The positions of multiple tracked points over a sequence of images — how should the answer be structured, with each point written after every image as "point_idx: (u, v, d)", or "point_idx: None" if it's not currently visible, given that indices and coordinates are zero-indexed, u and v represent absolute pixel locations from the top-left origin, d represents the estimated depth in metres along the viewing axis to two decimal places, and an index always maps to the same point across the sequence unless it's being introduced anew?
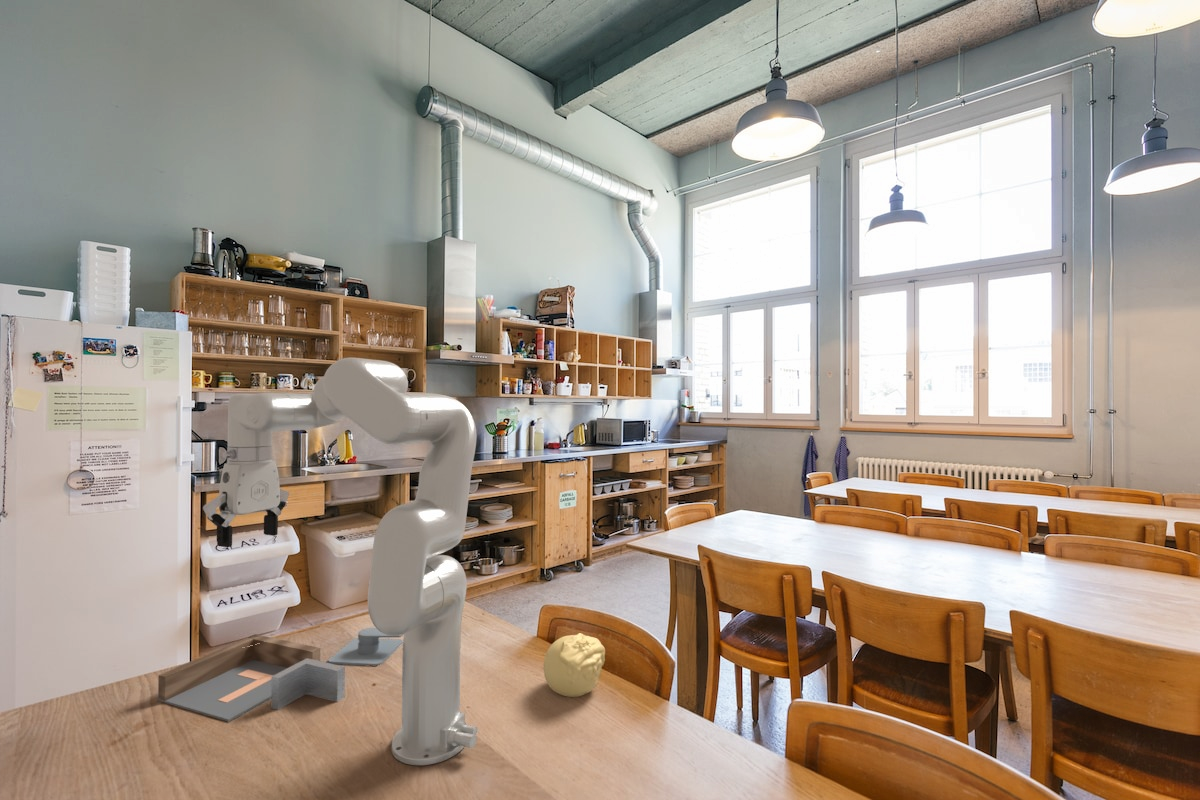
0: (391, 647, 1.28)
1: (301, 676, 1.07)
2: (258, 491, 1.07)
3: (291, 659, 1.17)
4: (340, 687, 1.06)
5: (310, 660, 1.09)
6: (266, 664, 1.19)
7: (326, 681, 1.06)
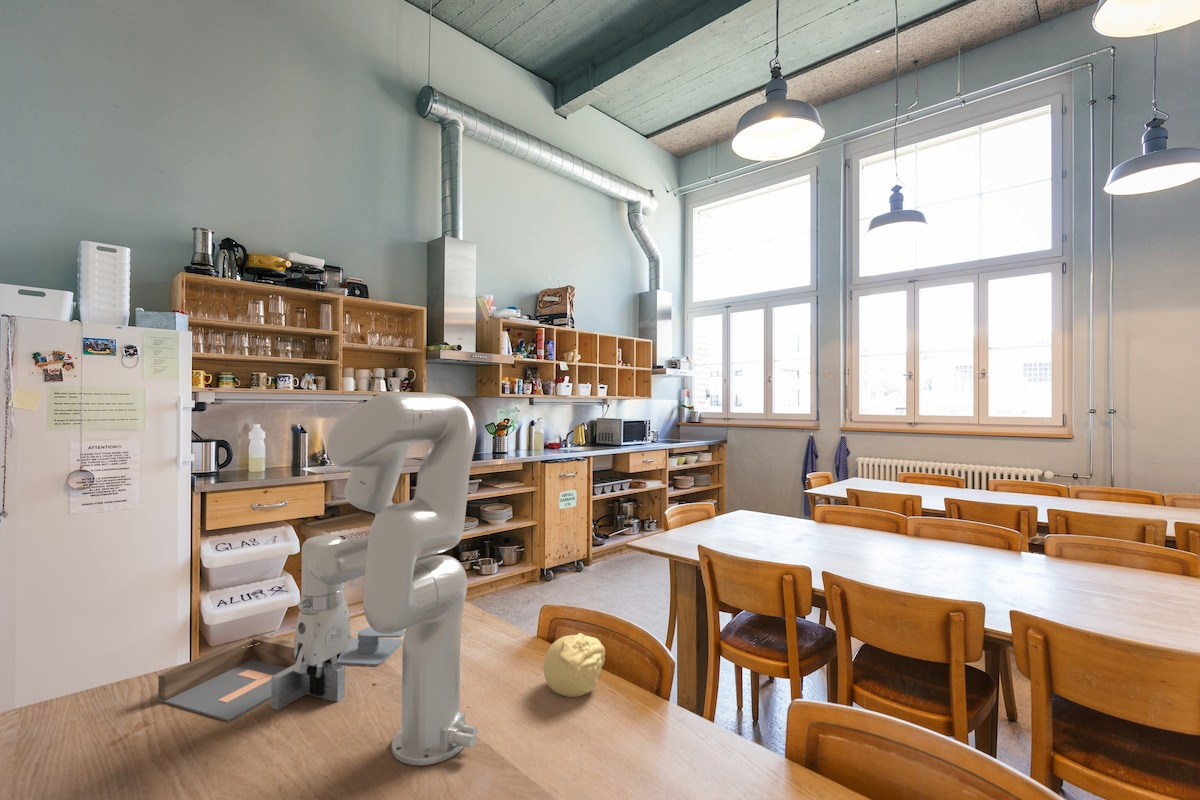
0: (391, 647, 1.28)
1: (301, 676, 1.07)
2: (332, 637, 1.07)
3: (291, 659, 1.17)
4: (340, 687, 1.06)
5: None
6: (266, 664, 1.19)
7: (326, 681, 1.06)
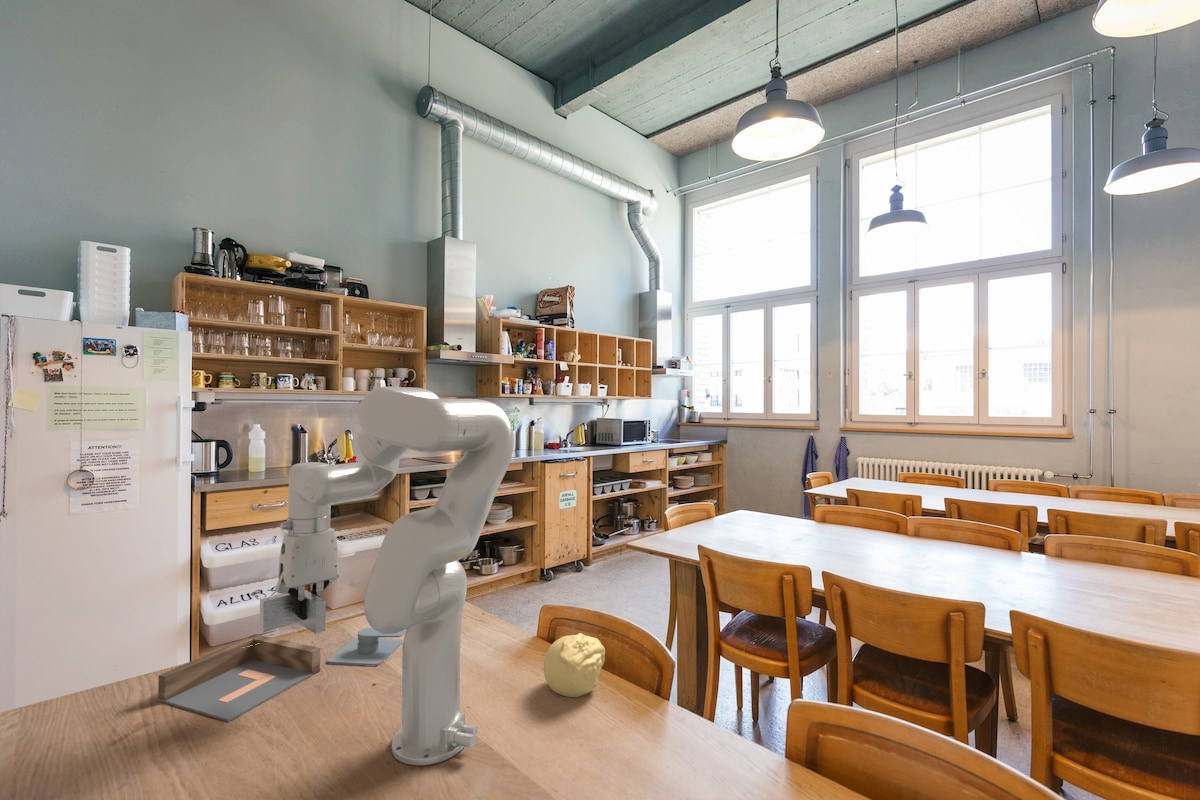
0: (391, 647, 1.28)
1: (291, 604, 1.08)
2: (314, 562, 1.06)
3: (291, 659, 1.17)
4: (319, 620, 1.05)
5: None
6: (266, 664, 1.19)
7: (309, 612, 1.06)
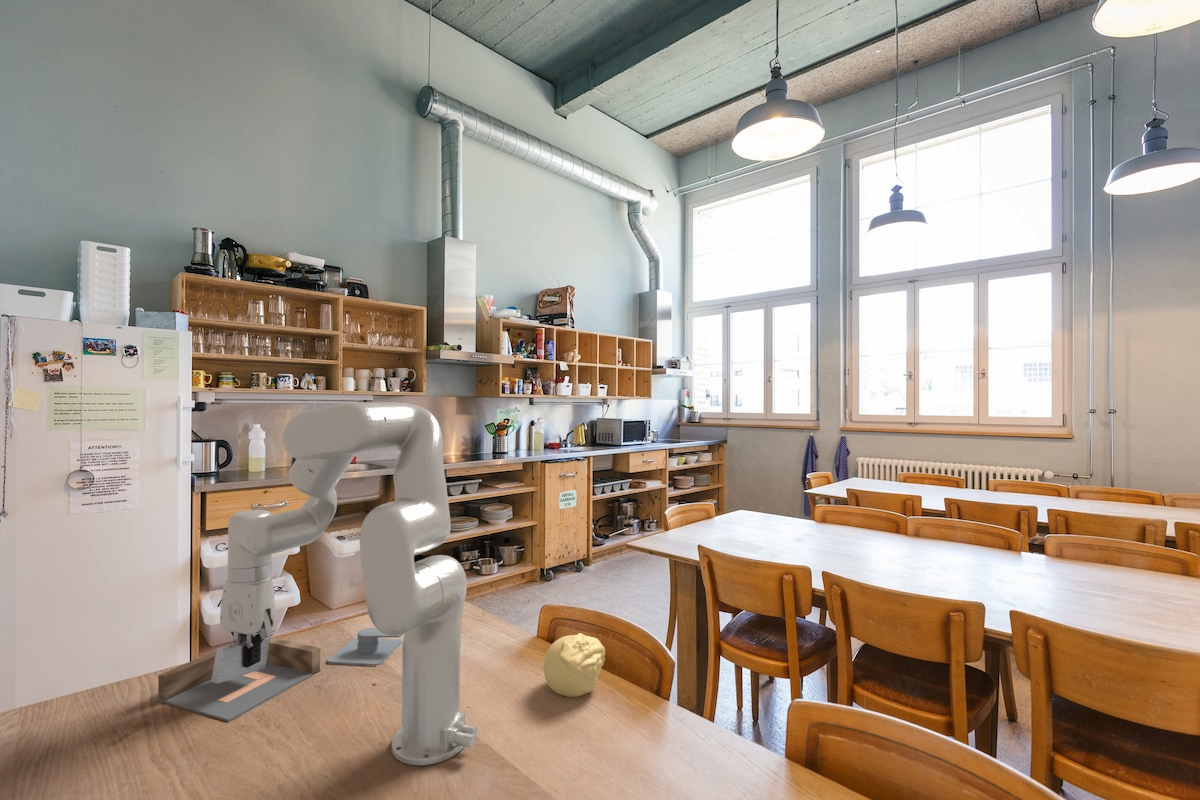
0: (390, 647, 1.28)
1: None
2: (234, 612, 1.07)
3: (291, 659, 1.17)
4: (215, 668, 1.04)
5: None
6: (266, 664, 1.19)
7: None
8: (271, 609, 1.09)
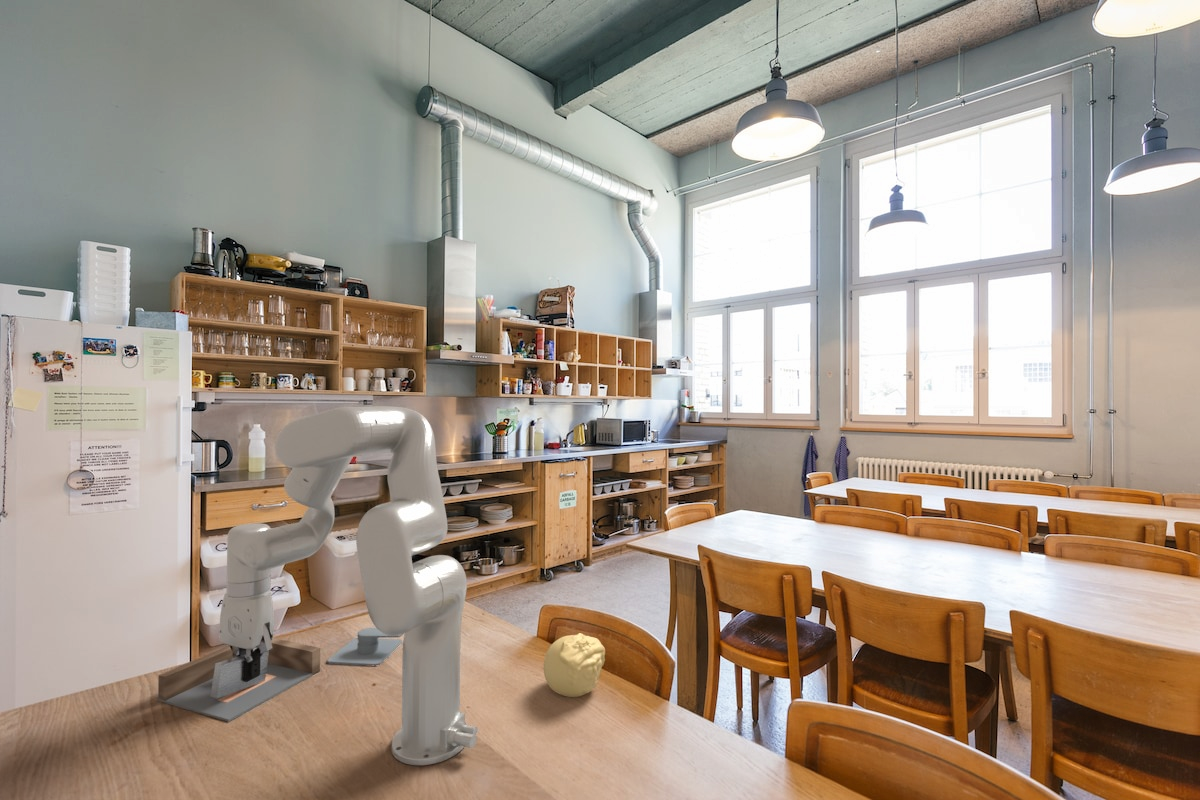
0: (390, 647, 1.28)
1: None
2: (233, 626, 1.07)
3: (291, 659, 1.17)
4: (214, 683, 1.03)
5: None
6: None
7: None
8: (270, 623, 1.08)
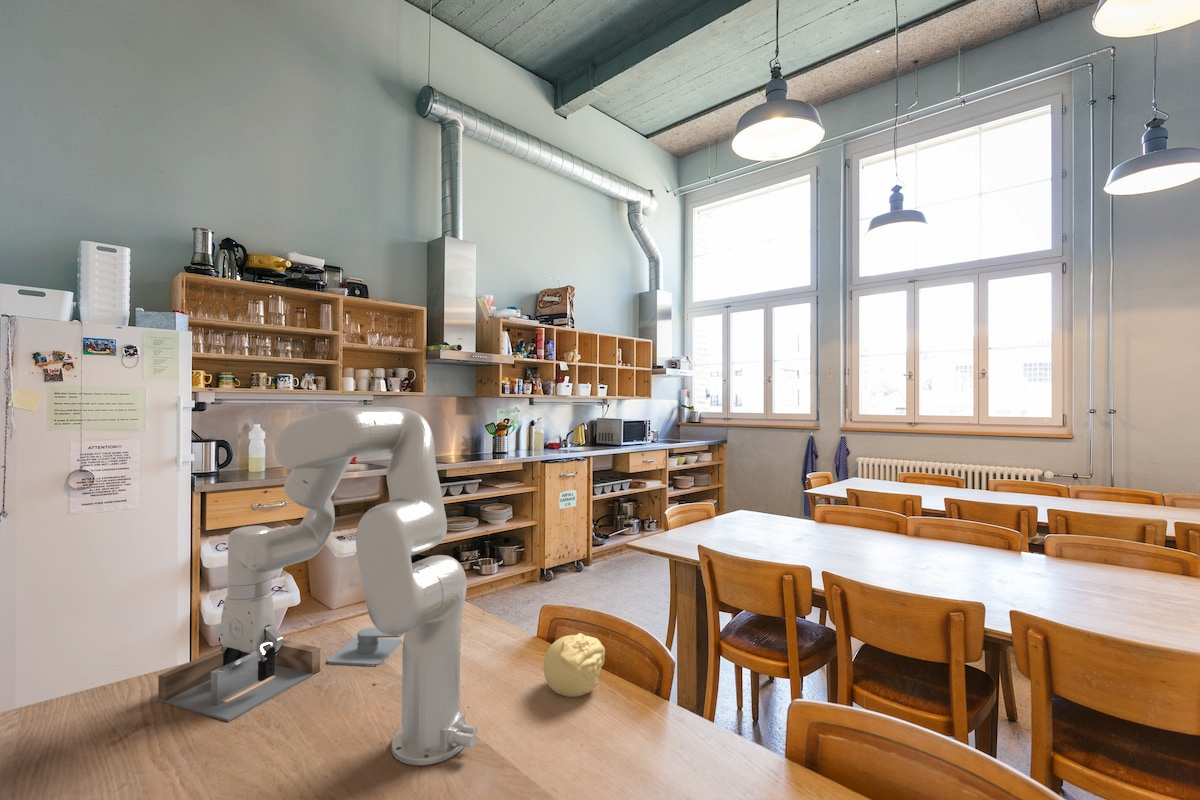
0: (390, 647, 1.28)
1: None
2: (234, 628, 1.07)
3: (291, 659, 1.17)
4: (213, 691, 1.03)
5: (257, 653, 1.11)
6: None
7: None
8: (271, 625, 1.09)
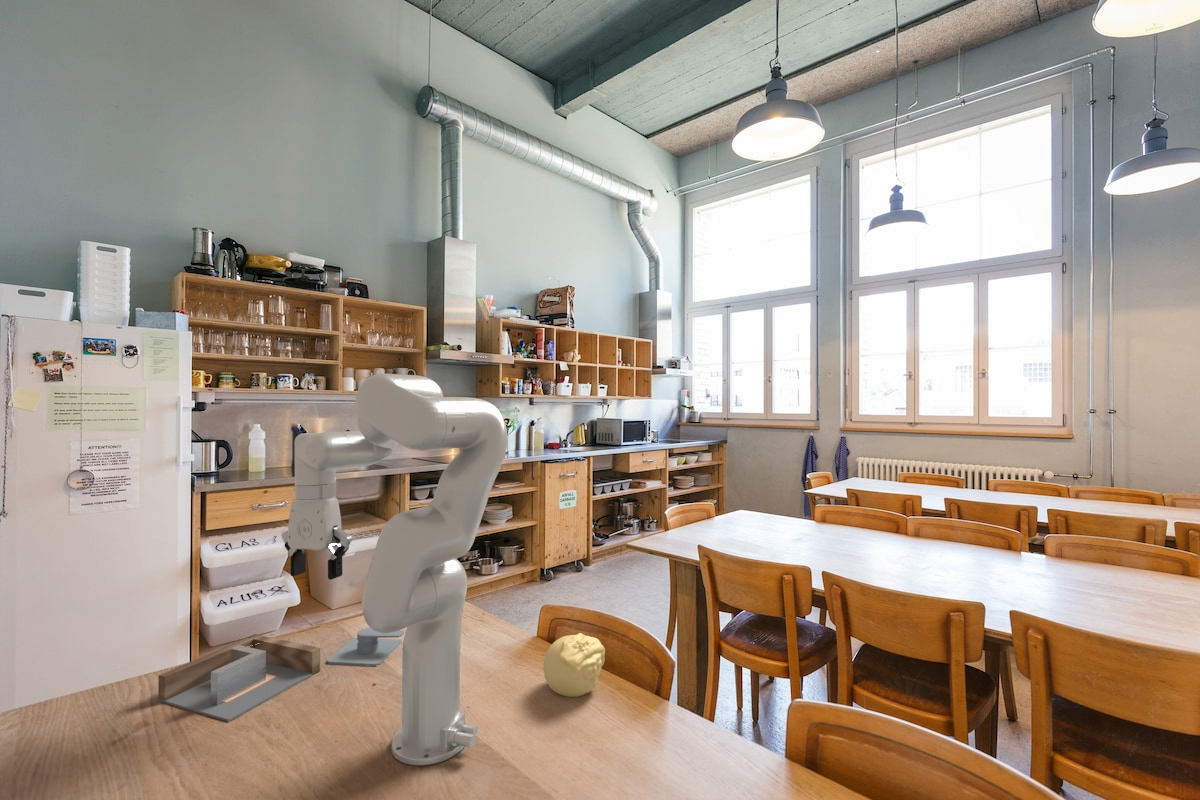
0: (390, 647, 1.28)
1: None
2: (303, 529, 1.09)
3: (291, 659, 1.17)
4: (213, 691, 1.03)
5: (257, 653, 1.11)
6: (266, 664, 1.19)
7: None
8: (338, 527, 1.11)
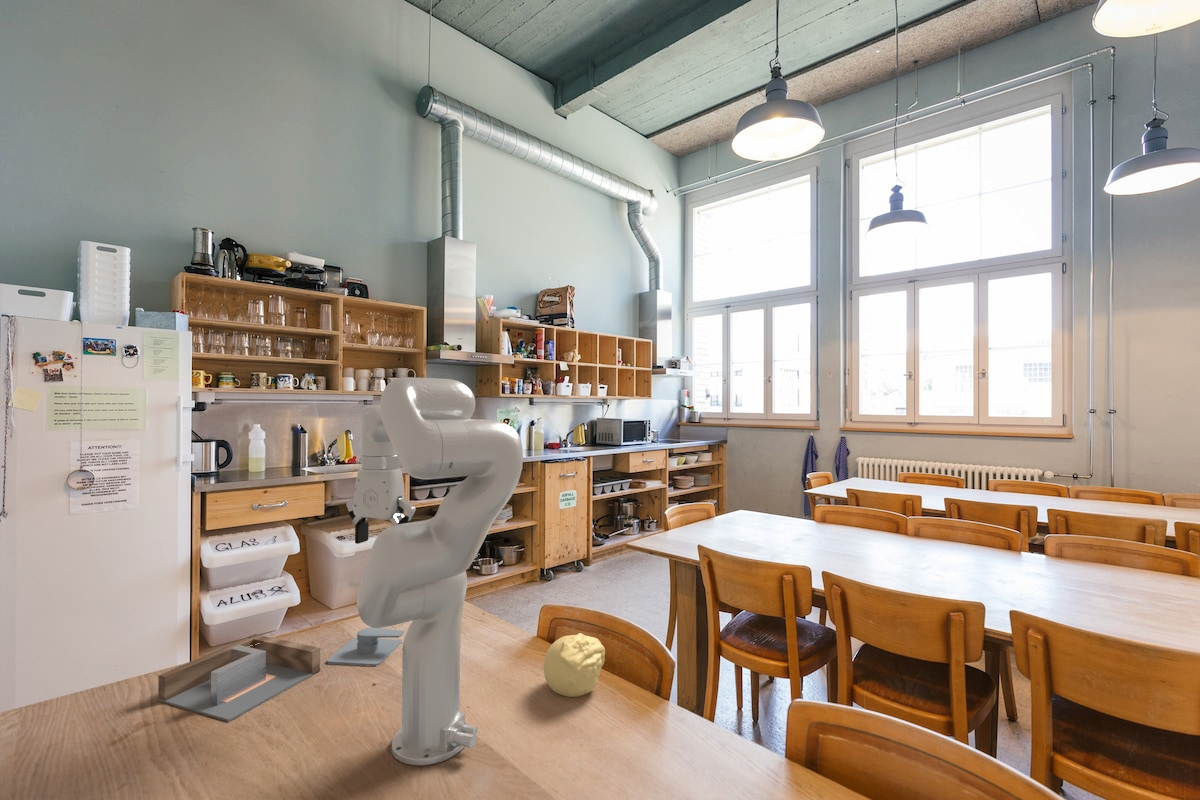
0: (390, 647, 1.28)
1: None
2: (369, 498, 1.12)
3: (291, 659, 1.17)
4: (213, 691, 1.03)
5: (257, 653, 1.11)
6: (266, 664, 1.19)
7: None
8: (402, 497, 1.14)
